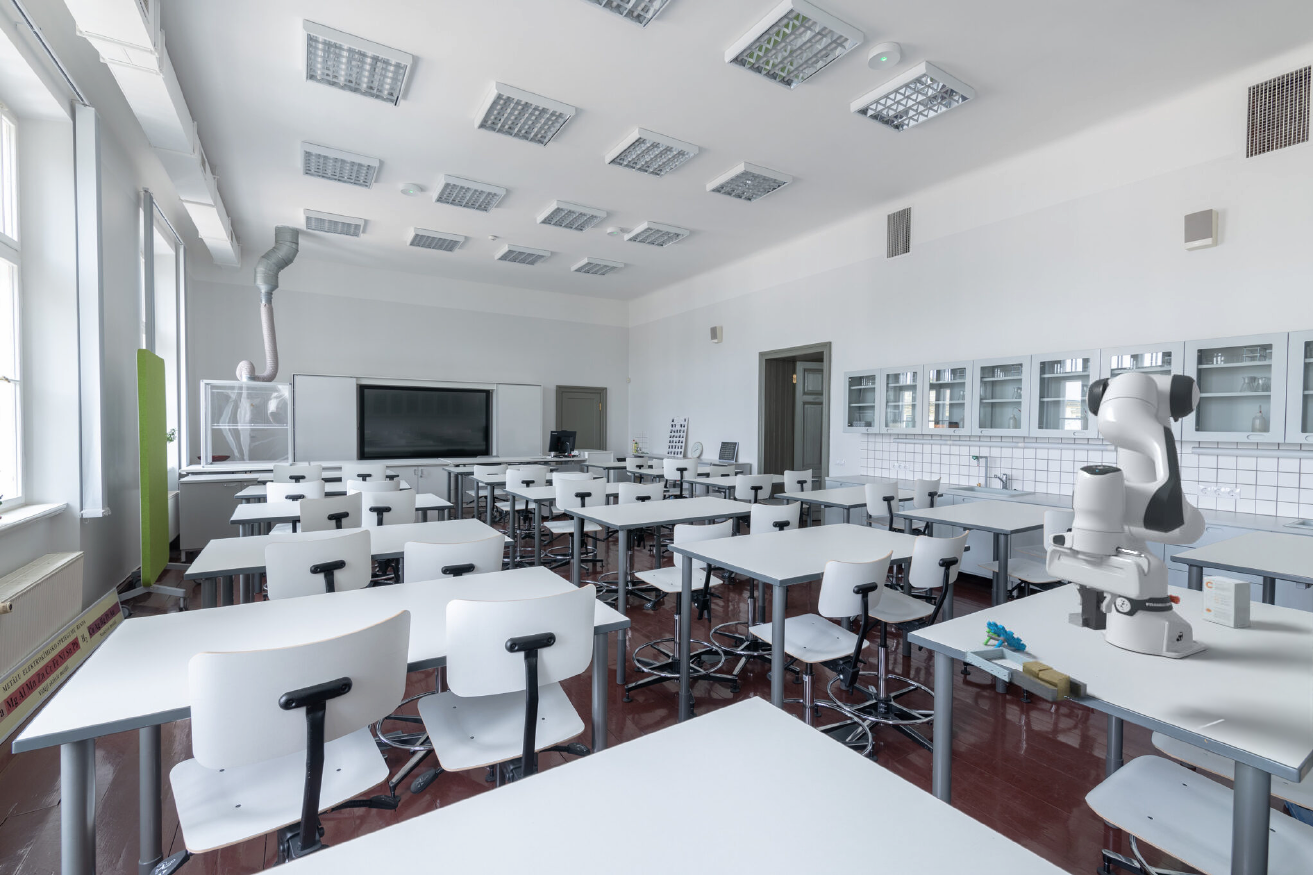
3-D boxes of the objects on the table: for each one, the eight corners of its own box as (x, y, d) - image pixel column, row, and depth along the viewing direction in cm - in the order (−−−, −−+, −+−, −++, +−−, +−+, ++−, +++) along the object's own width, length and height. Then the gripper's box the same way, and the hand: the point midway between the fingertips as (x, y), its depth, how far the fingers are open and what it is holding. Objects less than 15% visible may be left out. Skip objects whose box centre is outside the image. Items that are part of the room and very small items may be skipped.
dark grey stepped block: (1086, 621, 126) (1088, 584, 126) (1109, 629, 121) (1111, 590, 121) (1068, 622, 125) (1069, 585, 125) (1091, 630, 120) (1092, 591, 120)
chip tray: (1002, 656, 146) (1002, 647, 146) (1047, 677, 134) (1047, 667, 134) (965, 661, 143) (965, 651, 143) (1007, 682, 131) (1007, 672, 131)
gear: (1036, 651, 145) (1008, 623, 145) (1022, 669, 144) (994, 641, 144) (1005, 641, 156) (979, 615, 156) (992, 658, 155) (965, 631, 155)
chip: (1050, 686, 128) (1051, 668, 128) (1069, 694, 125) (1070, 676, 125) (1038, 689, 127) (1039, 671, 127) (1057, 697, 123) (1057, 679, 123)
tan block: (1036, 678, 133) (1036, 660, 133) (1052, 685, 129) (1052, 667, 129) (1022, 679, 132) (1022, 662, 132) (1038, 687, 128) (1038, 669, 128)
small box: (1250, 627, 169) (1251, 582, 169) (1233, 628, 168) (1235, 583, 167) (1218, 618, 177) (1219, 575, 177) (1201, 619, 175) (1203, 576, 175)
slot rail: (1044, 677, 134) (1044, 665, 133) (1086, 697, 124) (1086, 684, 124) (1010, 682, 131) (1010, 669, 131) (1051, 702, 121) (1051, 689, 121)
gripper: (1162, 553, 113) (1159, 624, 113) (1064, 534, 132) (1061, 594, 132) (1138, 553, 111) (1134, 626, 111) (1042, 534, 131) (1039, 595, 131)
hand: (1094, 608), depth 122 cm, fingers closed on dark grey stepped block, 3 cm apart
